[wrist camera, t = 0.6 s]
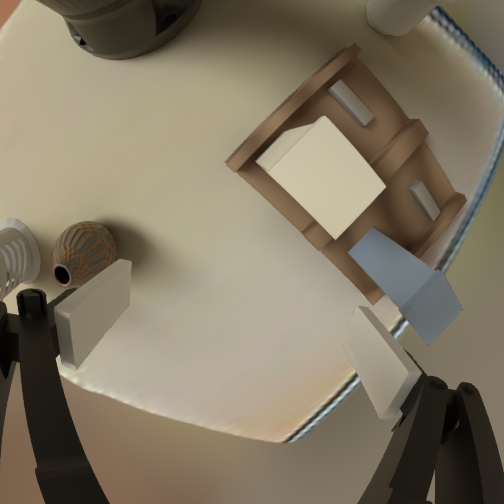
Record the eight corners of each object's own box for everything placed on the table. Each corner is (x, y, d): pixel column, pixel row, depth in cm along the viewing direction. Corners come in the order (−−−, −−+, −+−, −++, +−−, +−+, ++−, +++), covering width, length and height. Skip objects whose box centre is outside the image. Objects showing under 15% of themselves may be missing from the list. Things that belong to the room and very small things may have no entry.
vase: (77, 208, 28) (34, 231, 20) (128, 223, 29) (94, 251, 21) (72, 261, 30) (36, 295, 22) (120, 277, 31) (91, 317, 23)
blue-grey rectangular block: (371, 280, 32) (427, 345, 20) (345, 252, 30) (403, 315, 18) (396, 254, 31) (462, 309, 19) (372, 224, 29) (443, 273, 17)
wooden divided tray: (362, 292, 34) (374, 306, 31) (225, 161, 28) (224, 163, 24) (451, 196, 30) (467, 202, 27) (341, 50, 24) (353, 41, 20)
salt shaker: (403, 17, 22) (467, -16, 10) (397, 49, 23) (468, 20, 11) (363, -5, 21) (417, -53, 9) (354, 26, 23) (414, -20, 10)
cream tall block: (291, 198, 28) (335, 239, 16) (251, 161, 26) (267, 173, 14) (322, 167, 27) (386, 186, 15) (283, 128, 25) (324, 115, 13)
